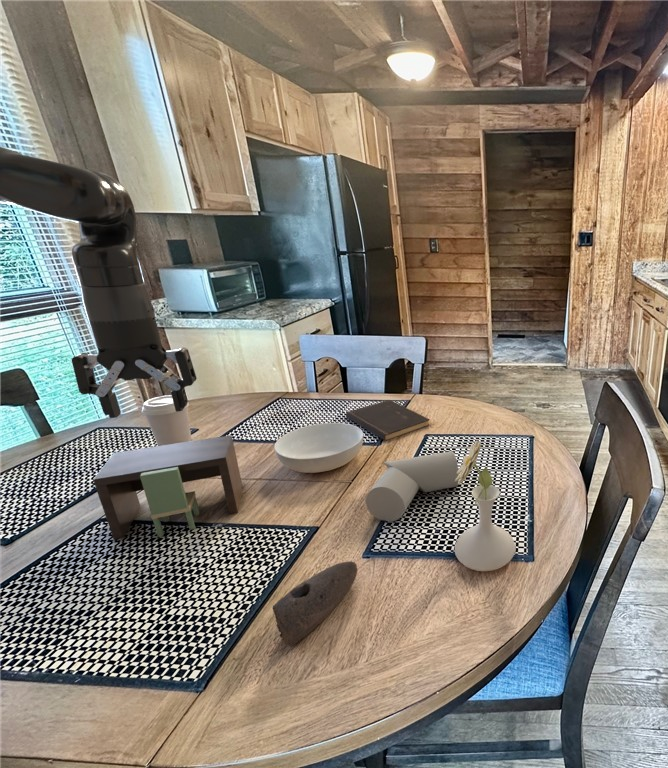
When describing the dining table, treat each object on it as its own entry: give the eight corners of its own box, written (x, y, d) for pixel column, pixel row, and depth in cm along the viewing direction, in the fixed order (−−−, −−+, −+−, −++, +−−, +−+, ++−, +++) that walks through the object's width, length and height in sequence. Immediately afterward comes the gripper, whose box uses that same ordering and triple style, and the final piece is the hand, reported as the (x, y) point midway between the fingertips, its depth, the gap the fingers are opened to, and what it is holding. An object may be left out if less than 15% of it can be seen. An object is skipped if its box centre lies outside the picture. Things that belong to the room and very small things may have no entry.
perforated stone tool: (347, 575, 73) (343, 542, 70) (369, 587, 70) (366, 554, 68) (265, 644, 60) (257, 607, 58) (288, 661, 58) (281, 623, 56)
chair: (195, 531, 82) (178, 469, 78) (157, 539, 80) (137, 476, 75) (200, 513, 87) (185, 454, 83) (165, 520, 85) (147, 460, 80)
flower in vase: (471, 528, 85) (471, 417, 77) (523, 543, 82) (529, 428, 73) (438, 572, 74) (434, 447, 66) (497, 592, 70) (500, 462, 62)
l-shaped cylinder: (395, 465, 106) (357, 513, 87) (401, 429, 102) (363, 471, 83) (461, 485, 105) (437, 538, 86) (470, 449, 101) (447, 496, 83)
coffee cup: (145, 457, 108) (129, 404, 103) (182, 441, 116) (169, 391, 112) (172, 464, 105) (157, 409, 100) (208, 447, 114) (196, 396, 109)
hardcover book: (390, 405, 146) (389, 399, 145) (430, 425, 131) (429, 419, 131) (346, 418, 135) (345, 412, 134) (385, 442, 120) (384, 434, 119)
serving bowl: (382, 453, 114) (380, 431, 111) (319, 493, 95) (315, 466, 93) (326, 437, 122) (323, 416, 119) (259, 471, 104) (254, 446, 101)
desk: (238, 513, 88) (225, 457, 83) (114, 541, 79) (92, 479, 74) (242, 487, 97) (231, 434, 92) (132, 509, 88) (114, 452, 84)
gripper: (44, 321, 57) (80, 428, 62) (171, 317, 62) (195, 416, 68) (73, 312, 64) (103, 410, 69) (186, 309, 69) (206, 400, 74)
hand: (149, 412), depth 68 cm, fingers open, 8 cm apart
